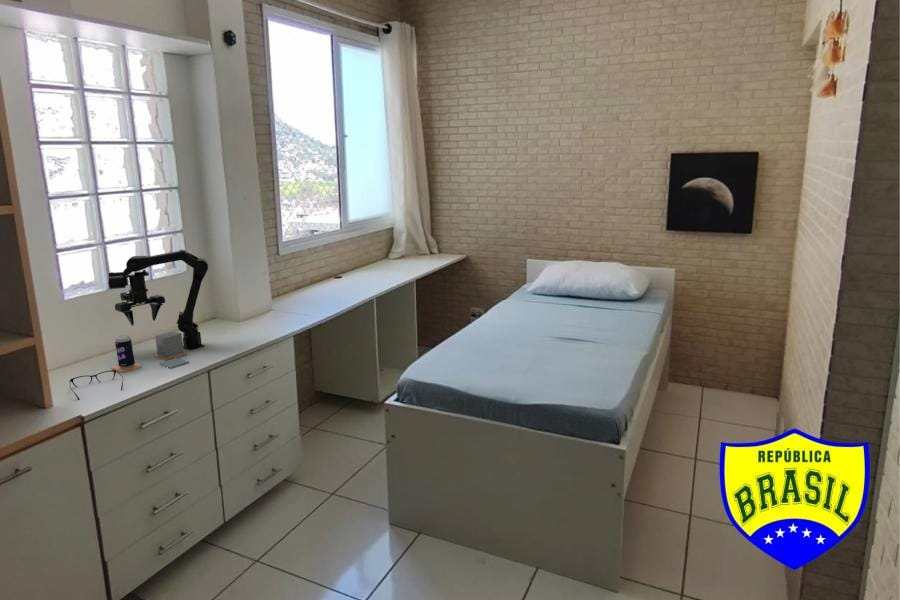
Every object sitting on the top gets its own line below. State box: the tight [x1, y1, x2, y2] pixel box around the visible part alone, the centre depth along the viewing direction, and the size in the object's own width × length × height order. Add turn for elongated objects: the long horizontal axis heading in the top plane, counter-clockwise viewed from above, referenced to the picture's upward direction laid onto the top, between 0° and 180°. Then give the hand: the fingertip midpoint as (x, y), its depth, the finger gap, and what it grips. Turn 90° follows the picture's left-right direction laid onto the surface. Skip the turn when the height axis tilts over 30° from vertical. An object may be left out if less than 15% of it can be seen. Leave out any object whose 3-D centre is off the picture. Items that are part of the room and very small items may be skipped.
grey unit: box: [153, 331, 188, 361], centre depth 252 cm, size 10×8×9 cm
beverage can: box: [114, 335, 136, 368], centre depth 238 cm, size 6×6×12 cm
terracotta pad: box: [111, 362, 143, 374], centre depth 239 cm, size 8×8×1 cm
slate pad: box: [159, 357, 190, 369], centre depth 243 cm, size 8×8×1 cm
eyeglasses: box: [68, 369, 124, 401], centre depth 218 cm, size 16×16×4 cm
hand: (143, 323), depth 255 cm, fingers open, 9 cm apart
